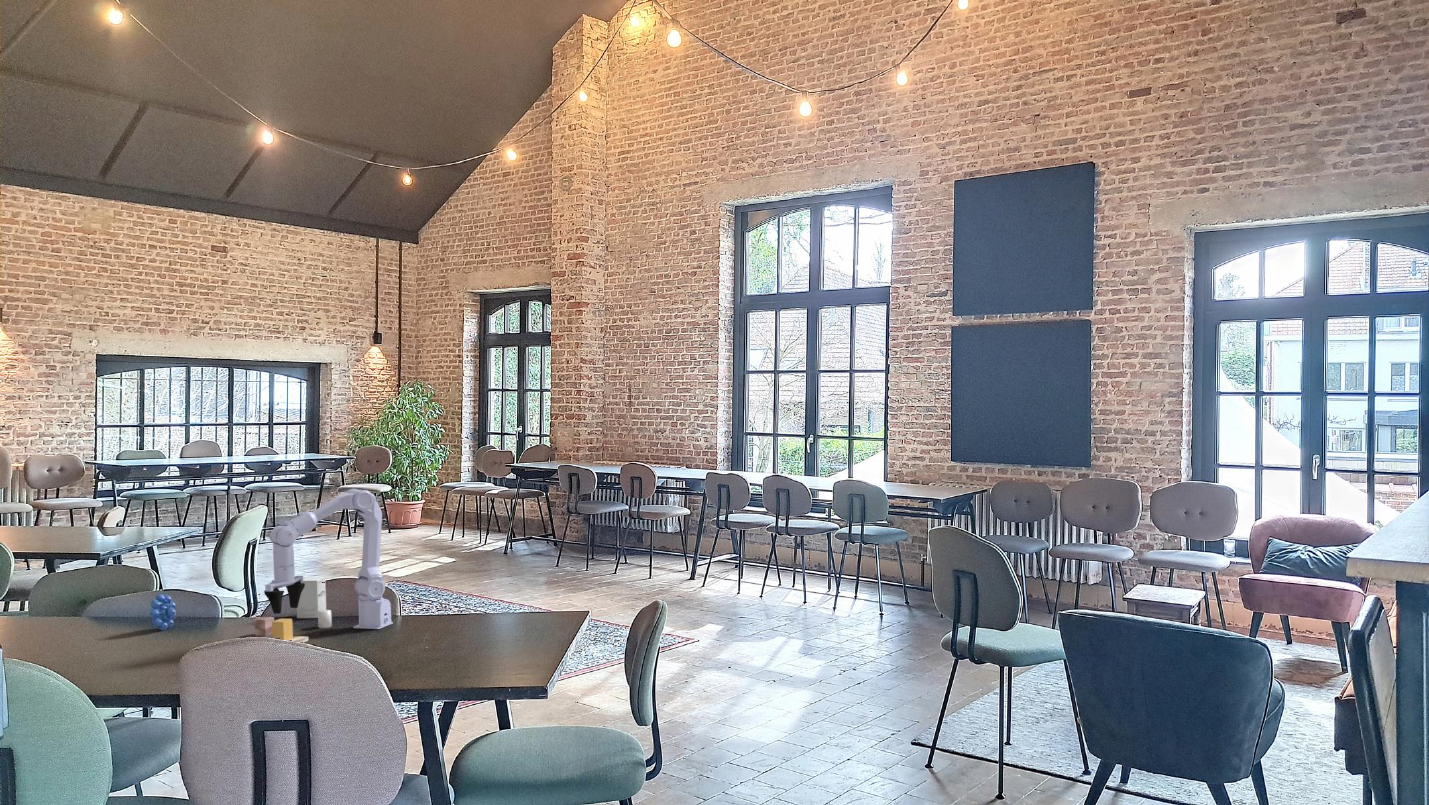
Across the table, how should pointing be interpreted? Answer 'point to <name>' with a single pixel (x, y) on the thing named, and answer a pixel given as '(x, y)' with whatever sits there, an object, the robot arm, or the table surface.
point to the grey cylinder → (324, 619)
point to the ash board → (300, 639)
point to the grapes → (163, 611)
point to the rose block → (263, 626)
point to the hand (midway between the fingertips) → (285, 610)
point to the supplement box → (312, 597)
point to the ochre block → (282, 629)
